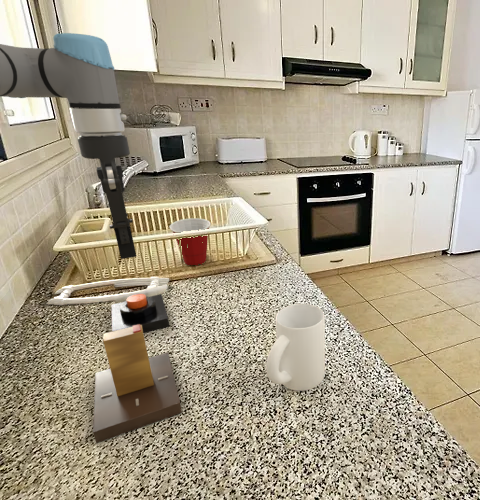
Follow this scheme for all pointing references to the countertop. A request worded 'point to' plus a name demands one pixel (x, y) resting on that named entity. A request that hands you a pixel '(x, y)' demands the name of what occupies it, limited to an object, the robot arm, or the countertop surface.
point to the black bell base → (141, 315)
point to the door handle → (150, 291)
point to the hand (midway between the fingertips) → (128, 256)
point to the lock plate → (134, 401)
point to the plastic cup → (192, 240)
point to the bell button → (136, 301)
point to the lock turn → (128, 359)
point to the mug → (298, 348)
